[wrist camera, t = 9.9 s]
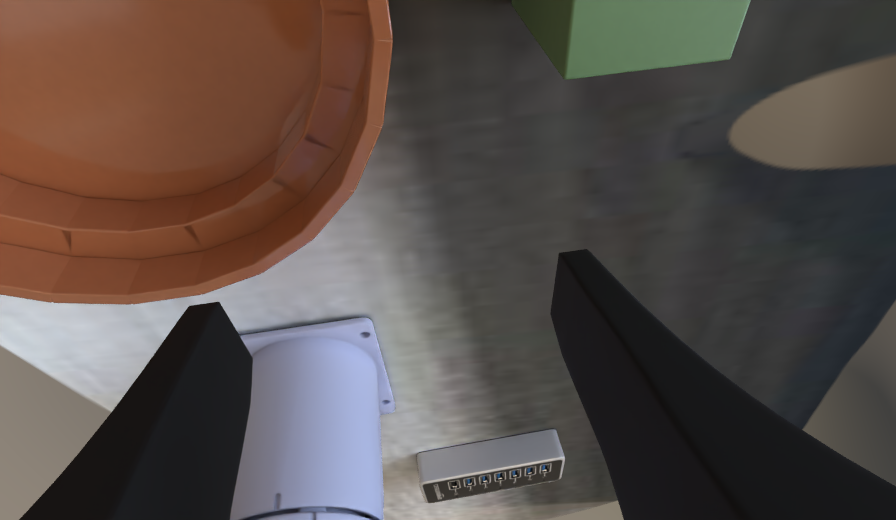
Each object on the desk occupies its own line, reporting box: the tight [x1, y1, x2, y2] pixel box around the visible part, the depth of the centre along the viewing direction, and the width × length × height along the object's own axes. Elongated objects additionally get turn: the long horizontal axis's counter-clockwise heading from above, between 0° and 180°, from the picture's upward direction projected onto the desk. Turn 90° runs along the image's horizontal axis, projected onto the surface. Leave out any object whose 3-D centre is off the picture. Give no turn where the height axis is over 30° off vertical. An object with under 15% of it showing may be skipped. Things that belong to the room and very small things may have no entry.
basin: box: [0, 0, 393, 304], centre depth 12 cm, size 18×18×4 cm
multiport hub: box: [417, 429, 565, 503], centre depth 38 cm, size 4×11×2 cm, turn 95°
